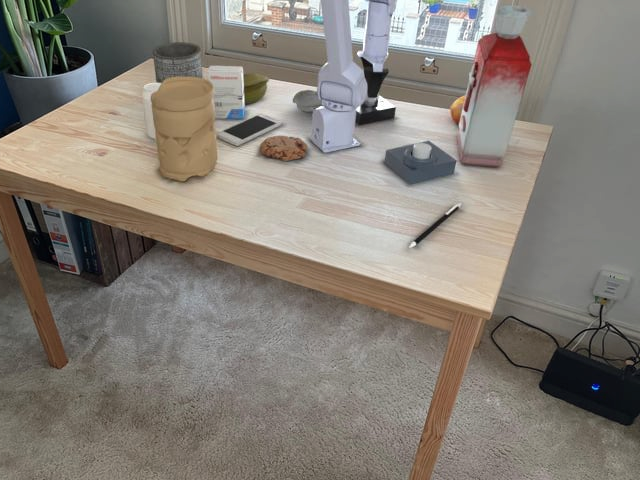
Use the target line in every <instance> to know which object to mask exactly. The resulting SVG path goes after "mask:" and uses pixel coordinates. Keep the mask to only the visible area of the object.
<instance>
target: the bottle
mask: <svg viewBox="0 0 640 480" xmlns="http://www.w3.org/2000/svg"><path fill="white" fill-rule="evenodd" d="M532 15H533V13H532V11H531V10H530V9H529V8H527V7H526V6H518V5H503V6H501V7H500V8H499V9H498V10H496V12H495V32H493V33H488V34H483V35H482V36H481V38H480V39H478V40H477V44H476V49H475V54H474V58H473V62H472V67H471V70H470V71H469V74H468V77H469V80H468V84H467V88H466V93H465V95H466V96H465V95H464V96H465V101H464V105H463V109H462V114H461V118H460V122H459V125H458V132H457V133H456V139H457V146H458V147H457V148H458V156H459V161H460V163H462V164H463V165H465V166H476V167H477V166H478V167H487V168H488V167H489V168H498V167H501V166H502V165H503V160H502V159H503V158H504V157H505V156H506V153H507V149H508V146H509V143H510V139H511V137H512V133H513V129H514V126H515V122H516V119H517V115H518V112H519V109H520V106H521V102H522V99H523V95H524V92H525V88H526V85H527V82H528V79H529V75H530V72H531V69H532V62H531V56H530V54H529V51H528V49H527V47H526V45H525V43H524V40H523V38H522V37H521V34H523V32H524V31H525V29H526V27H527V25H528V22H529V21H530V19H531V17H532Z"/></svg>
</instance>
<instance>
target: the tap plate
mask: <svg viewBox="0 0 640 480" xmlns="http://www.w3.org/2000/svg"><path fill="white" fill-rule="evenodd" d="M396 110H397V107H396V105H394V104H392V103H391V102H390V101H388V100H387V99H385V98H384V97H383V96H381V95H379V100H378V105H376V106H373V107H367V106H363V105H361V106H359V107H358V108H357V110H356V120H355V124H357V125H358V126H364V125H369V124H373V123H378V122H383V121H388V120H393V119H395V117H396Z"/></svg>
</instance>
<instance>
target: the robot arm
mask: <svg viewBox="0 0 640 480" xmlns="http://www.w3.org/2000/svg"><path fill="white" fill-rule="evenodd" d="M364 1H365V2H367V11H366V21H365V29H364V39H363V48H362V50H358V51H357V57H359V58H360V60H361V63H362V68H361V67H360V66H359V65H358V64H357V63H356V62H355V61H354V57H353V43H352V42H353V41H352V29H351V16H350V15H351V14H350V3H349V0H320V7H321V15H322V24H323V31H324V40H325V41H324V42H325V49H326V59H327V62H326V63H325V64H323V66H322V67H321V68H320V70H319V72H318V74H317V85H316V91H317V94H318V97H319V99H320V100H322V105H323V106H321V107H320V108H317V109H315V110H314V111H313V112H312V115H311V129H310V136H309V140H310V141H311V142H312V143H313V144H314V145H315V146H317V148H318V149H320V150H321V151H322V152H323V153H330V152H331V153H332V152H334V151H340V150H344V149H350V148H355V147H358V146H361V144H362V143H361V142H360V141H359V140H358V139H357V138H356V137H355V127H356V122H355V120H356V110H357V108H358V107H359V106H361V105H362V104H363V102H364V100H365V97H366V94H368V98H377V96H378V93H379V90H380V91H381V87H382V85H383V82H384V81H385V79H386V77H387V76H388V74H389V72H390V71H389V68H384V63H385V62H386V60H387V59H388V57H389V52H388V51H389V46H390V38H391V31H392V24H393V16H394V13H395V12H396V9H397V3H398V0H364ZM379 94H380V93H379Z"/></svg>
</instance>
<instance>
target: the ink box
mask: <svg viewBox="0 0 640 480" xmlns="http://www.w3.org/2000/svg"><path fill="white" fill-rule="evenodd" d="M243 74H244V67H243V66H241V65H240V66H236V65H209V66H208V68H207V70H206V75H205V76H206V80H208V81H210V82H211V83H212V85H213V91H214V96H213V101H214V106H215V119H231V120H232V119H234V120H239V119H240V120H243V119H244V117H245V112H246V109H245V108H246V106H245V105H246V103H244V80H243Z"/></svg>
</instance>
